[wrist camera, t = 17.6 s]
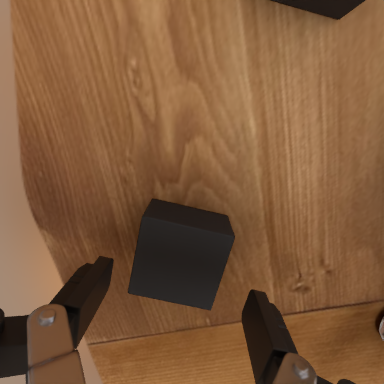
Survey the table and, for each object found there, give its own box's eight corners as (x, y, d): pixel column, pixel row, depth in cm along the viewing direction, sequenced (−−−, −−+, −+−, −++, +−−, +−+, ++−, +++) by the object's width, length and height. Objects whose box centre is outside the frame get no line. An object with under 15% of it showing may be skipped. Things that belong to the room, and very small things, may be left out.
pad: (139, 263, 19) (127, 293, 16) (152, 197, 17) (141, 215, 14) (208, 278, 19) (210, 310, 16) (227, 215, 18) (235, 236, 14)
